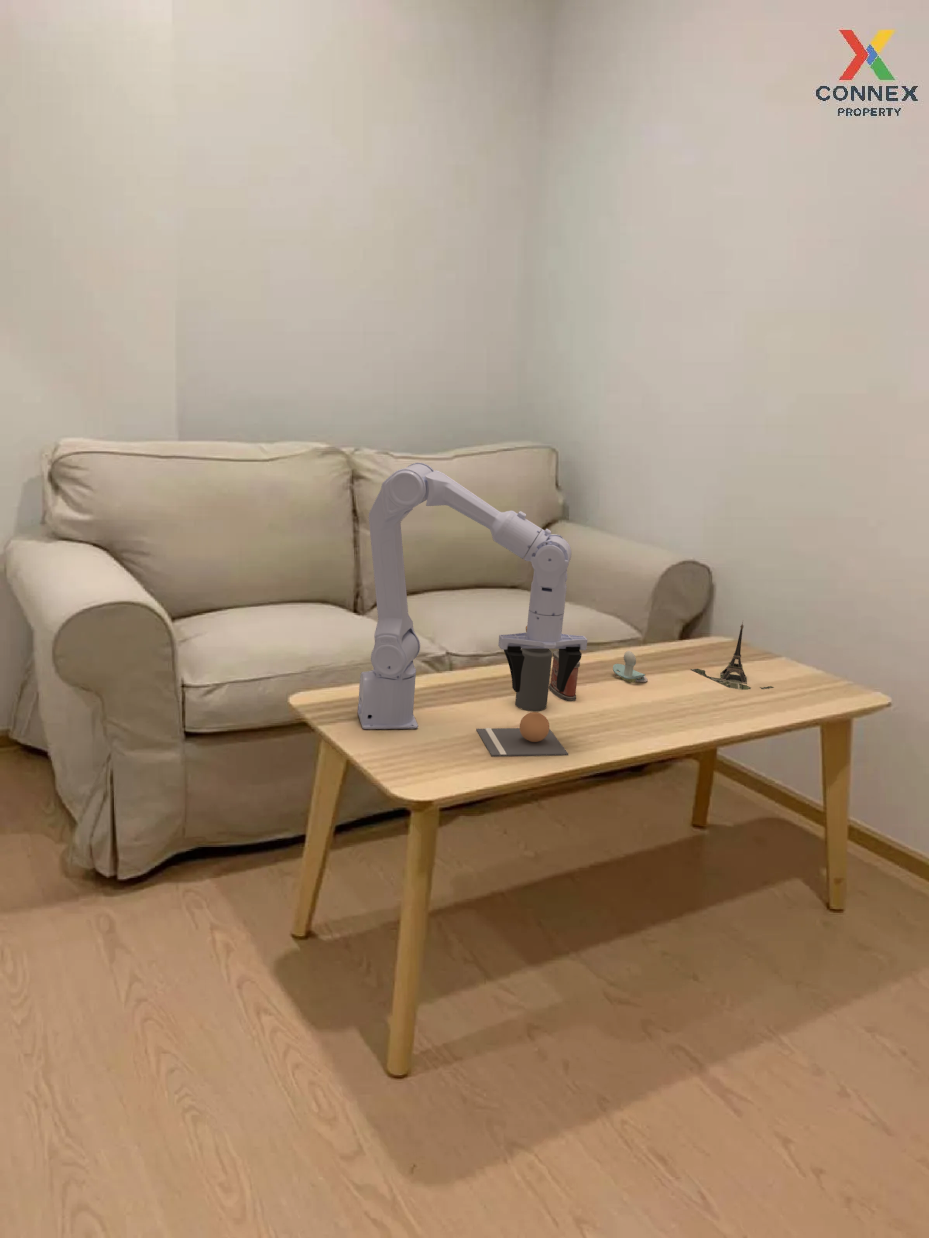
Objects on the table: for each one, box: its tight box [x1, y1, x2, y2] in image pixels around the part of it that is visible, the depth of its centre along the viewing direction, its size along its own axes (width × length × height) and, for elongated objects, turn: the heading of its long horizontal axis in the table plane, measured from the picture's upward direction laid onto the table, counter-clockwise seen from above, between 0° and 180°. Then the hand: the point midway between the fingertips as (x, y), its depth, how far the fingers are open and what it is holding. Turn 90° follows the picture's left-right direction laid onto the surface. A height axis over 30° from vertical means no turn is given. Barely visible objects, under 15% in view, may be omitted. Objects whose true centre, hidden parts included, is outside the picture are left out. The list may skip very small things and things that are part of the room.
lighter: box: [548, 650, 581, 702], centre depth 194 cm, size 8×3×10 cm, turn 22°
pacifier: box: [612, 650, 649, 683], centre depth 207 cm, size 7×6×6 cm
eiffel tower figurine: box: [690, 621, 773, 691], centre depth 211 cm, size 15×10×13 cm
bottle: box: [514, 625, 553, 712], centre depth 186 cm, size 6×6×15 cm
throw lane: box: [475, 727, 569, 757], centre depth 171 cm, size 13×11×1 cm
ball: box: [519, 711, 550, 742], centre depth 170 cm, size 5×5×5 cm
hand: (538, 689), depth 169 cm, fingers open, 7 cm apart
